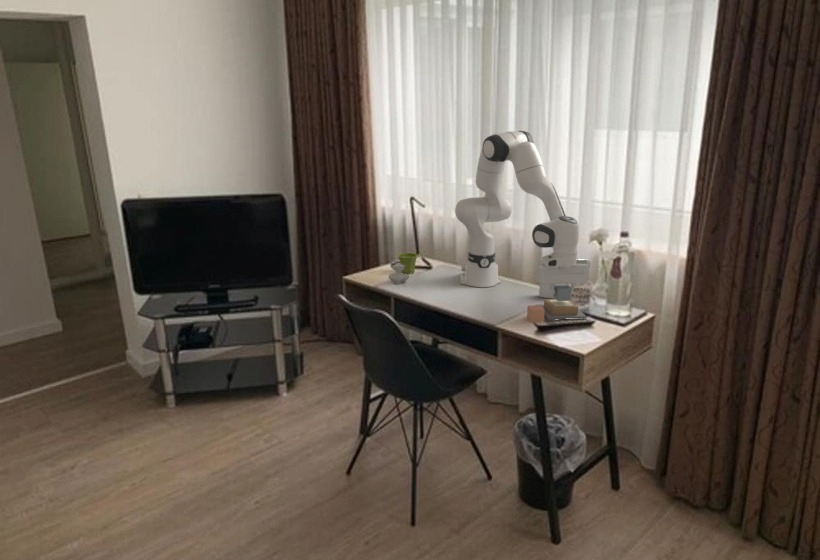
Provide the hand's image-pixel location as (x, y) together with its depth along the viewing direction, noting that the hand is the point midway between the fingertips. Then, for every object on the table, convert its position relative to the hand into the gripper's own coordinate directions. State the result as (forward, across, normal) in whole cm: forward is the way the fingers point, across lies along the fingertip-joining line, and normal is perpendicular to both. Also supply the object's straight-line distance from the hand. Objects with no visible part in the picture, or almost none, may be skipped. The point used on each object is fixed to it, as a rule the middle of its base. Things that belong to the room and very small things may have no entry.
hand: (561, 294), depth 231 cm
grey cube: (+2, 0, 0) cm, 2 cm away
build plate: (+8, 0, 0) cm, 8 cm away
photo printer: (+8, -3, -19) cm, 21 cm away
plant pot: (+8, +53, -62) cm, 82 cm away
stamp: (+8, +59, -46) cm, 75 cm away
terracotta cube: (+8, +12, +6) cm, 16 cm away
